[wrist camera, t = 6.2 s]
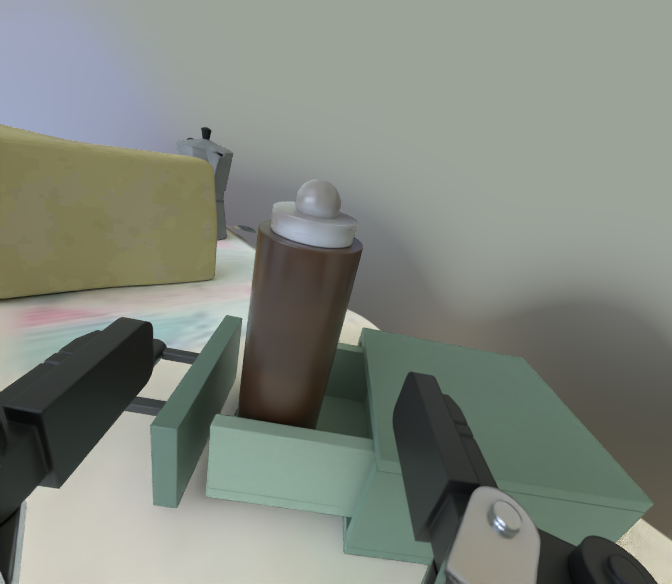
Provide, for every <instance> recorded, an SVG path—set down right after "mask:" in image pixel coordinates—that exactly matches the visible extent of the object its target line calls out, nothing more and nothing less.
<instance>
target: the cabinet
mask: <svg viewBox="0 0 672 584" xmlns="http://www.w3.org/2000/svg"><path fill="white" fill-rule="evenodd" d="M357 346H359V347H362V348H363V357H364V365H365V373H366V381H367V390H368V398H369V406H370V414H371V422H372V431H373V439H374V447H375V455H376V458H375V460H374V462H373V465H372V467H371V470H370V473H369V475H368V478H367V480H366V483H365V486H364V488H363V491H362V493H361V496H360V498H359V501H358V504H357V506H356V509H355V511H354V514H353V516H352V517H345V516H343V533H344V553H345V554H353V555H360V556H368V557H375V558H383V559H390V560H398V561H405V562H413V563H420V564H428V565H429V563H430V561H431V560H432V558H433V556H434V555H433V551H432V547H431V543H425V542H418V541H415V539H414V534H413V529H412V524H411V518H410V513H409V508H408V503H407V498H406V493H405V487H404V482H403V477H402V472H401V467H400V462H399V457H398V451H397V446H396V441H395V436H394V431H393V423H392V419H393V411H394V407H395V404H396V402H397V399H398V396H399V394H400V391H401V389H402V386H403V384H404V381H405V378H406V376H407V374H408V373H409V372H410V371H412V372H417V373H422V374H428V375H433V376H434V377H435V378H436V380H437V382H438V384H439V387H440V389H441V392H442V394H447V395H449V396H450V397H451V398H452V399H453V400H454V401H455V403H456V404H457V405H458V406H459V407H460V408H461V410H462V412H463V414H464V416H465V419H466V421H467V423H468V424H467V425H468V426H469V427H470V429H471V431H472V433H473V435H474V436H473V438H474V439H475V440H476V442H477V444H478V446H479V448H480V450H481V452H482V454H483V457H484V459H485V461H486V463H487V465H488V467H489V469H490V471H491V474H492V476H493V478H494V480H495V482H496V484H497V486H498V488H499V490H501V491H503V492H505V493H507V494H508V495H510V496H511V497H513V498H514V499H515V500H516V501H517V502H519V503H520V504H521V505H522V506H523V508H524V509H525V510H526V511H527V512H528V514H529V515H530V516H531V518H532V520H533V521H534V523H535V525H536V527H537V528H539V529H541V530H543V531H545V532H547V533H549V534H551V535H554V536H556V537H558V538H560V539H562V540H564V541H566V542H568V543H570V544H573V545H575V546H578V545H579V544H580V543H581V542H582V540H583V539H584V538H585V537H587V536H591V535H595V536H600V537H603V538H606V539H608V540H610V541H612V542H614V543H616V542H617V541H618V540H619V539H620V538H621V537H622V536H623V535H624V534H625V533H626V532H627V531H628V530H629V529H630V528H631V527H632V526H633V525H634V524H635V523H636V522H637V521H638V520H639V519H640V518H641V517H642V516H643V515H644V514H645V512H646V511H647V510H648V509H649V508H650V507H652V505H653V502H652V501H651V500H650V499H649V498H648V496H647V495H646V494H645V493H644V492H643V491H642V490H641V489H640V488H639V486H638V485H637V484H636V483H635V482H634V481H633V480H632V479H631V478H630V476H629V475H628V474H627V473H626V472H625V471H624V470H623V469H622V467H621V466H620V465H619V464H618V463H617V462H616V461H615V460H614V459H613V457H612V456H611V455H610V454H609V453H608V452H607V451H606V450H605V449H604V447H603V446H602V445H601V444H600V443H599V442H598V441H597V440H596V438H595V437H594V436H593V435H592V434H591V433H590V432H589V431H588V430H587V429H586V427H585V426H584V425H583V424H582V423H581V422H580V421H579V420H578V419H577V417H576V416H575V415H574V414H573V413H572V412H571V411H570V409H569V408H568V407H567V406H566V405H565V404H564V403H563V402H562V401H561V400H560V398H559V397H558V396H557V395H556V394H555V393H554V392H553V391H552V389H551V388H550V387H549V386H548V385H547V384H546V383H545V382H544V381H543V380H542V379H541V377H540V376H539V375H538V374H537V373H536V372H535V370H534V369H533V368H532V367H531V366H530V365H529V364H528V363H527V362H526V360H525V359H523V358H518V357H513V356H508V355H503V354H498V353H492V352H487V351H482V350H477V349H471V348H466V347H461V346H456V345H451V344H445V343H441V342H436V341H430V340H425V339H420V338H415V337H409V336H404V335H399V334H394V333H389V332H384V331H379V330H374V329H368V328H362V332H361V336H360V338H359V342H358V345H357Z"/></svg>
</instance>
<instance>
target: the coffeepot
mask: <svg viewBox="0 0 672 584" xmlns="http://www.w3.org/2000/svg"><path fill="white" fill-rule="evenodd" d="M201 129H202V137H203V139H193V138H188V139H187V140H182V141H176V147H177V155H186V156H192V157H197V158H200V159H203V160H205V161H207V162H208V163H210V164H211V165H212V167H213V169H214V180H215V194H216V208H217V240H221V239H224V238H226V237H227V234H226V223H225V212H224V200H223V199H224V198H223V197H224V191H225V190H226V185H227V180H228V176H229V171H230V167H231V162H232V157H233V152H231V151H229V150H228V149H226V148H223V147H222V146H220V145H217V144H216V143H214V142H212V141H210V140H209V138H210V134H211V130H210V129H209V128H206V127H204V128H201Z"/></svg>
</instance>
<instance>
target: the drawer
mask: <svg viewBox="0 0 672 584" xmlns="http://www.w3.org/2000/svg"><path fill="white" fill-rule="evenodd" d="M241 326H242V318H239V317H233V316H228V315H226V316H225V318H224V319H223V321H222V322H221V324H220V325H219V327H218V328H217V330H216V331H215V332H214V334H213V335H212V337H211V338H210V340H209V341H208V343H207V344H206V346H205V347H204V348H203V350H202V351H201V353H194V352H189V351H183V350H177V349H172V348H167V346H166V345H165V343H164V342H162V341H161V340H158V339H153V348H154V366H155V365H156V364H157V363H158V362H159V361H160V359H161V358H162V359H165V360H170V361H176V362H182V363H187V364H192V366H191V367H190V369H189V370H188V372H187V373H186V375H185V376H184V377H183V379H182V380H181V382H180V383H179V385H178V386H177V388H176V389H175V391H174V392H173V393H172V395H171V396H170V398H169V399H168V401H161V400H155V399H149V398H143V397H137V396H136V397H135V398H134V400H133V401H132V402H131V403H130V404H129V406H128V407H127V408H126V409H125V410H124V411H128V412H135V413H141V414H147V415H153V416H157V417H156V418H155V420H154V421H153V422H152V424H151V425H150V430H151V456H152V483H153V505H157V506H164V507H172V508H177V506H178V504H179V502H180V500H181V498H182V495H183V493H184V491H185V489H186V487H187V484H188V482H189V480H190V478H191V476H192V473H193V471H194V469H195V467H196V465H197V462H198V460H199V458H200V456H201V454H202V451H203V449H204V447H205V445H206V443H207V440H208V438H209V436H210V441H209V455H208V469H207V484H206V497H212V498H219V499H226V500H233V501H240V502H247V503H254V504H261V505H268V506H275V507H282V508H289V509H296V510H303V511H310V512H317V513H324V514H331V515H338V516H345V517H352V516H353V514H354V511H355V509H356V506H357V504H358V501H359V498H360V496H361V493H362V491H363V488H364V486H365V483H366V480H367V478H368V475H369V473H370V470H371V467H372V465H373V462H374V460H375V458H376V455H375V447H374V439H373V431H372V422H371V414H370V406H369V398H368V390H367V381H366V373H365V365H364V357H363V348H362V347H359V346H354V345H349V344H343V343H338V345H337V349H336V353H335V357H334V361H333V364H332V368H331V372H330V376H329V380H328V384H327V387H326V391H325V395H324V399H323V403H322V407H321V410H320V414H319V418H318V422H317V426H316V430H313V429H307V428H300V427H294V426H288V425H282V424H276V423H270V422H264V421H258V420H252V419H246V418H240V417H237V411H236V413H235V416H234V417H233V416H227V415H221V414H220V412H221V410H222V407H223V405H224V403H225V401H226V399H227V396H228V394H229V392H230V390H231V388H232V386H233V383H234V381H235V379H236V373H237V364H238V354H239V345H240V336H241ZM153 368H154V367H153ZM237 410H238V408H237Z"/></svg>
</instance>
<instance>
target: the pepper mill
mask: <svg viewBox="0 0 672 584" xmlns="http://www.w3.org/2000/svg"><path fill="white" fill-rule="evenodd" d="M340 207H341V200H340V196H339V193H338V191H337V189H336V188H335V187H334V186H333V185H332V184H331V183H329V182H327V181H324V180H319V179H315V180H311V181H309V182H306V183H305V184H304V185H303V186H302V187H301V188H300V189H299V191H298V193H297V195H296V200H295V202H277V203H275V204H274V205H273V211H272V219H271V220H268V221H264V222H262V223H261V224H260V225H259V228H258V237H257V246H256V254H255V263H254V271H253V280H252V289H251V297H250V306H249V315H248V323H247V332H246V341H245V349H244V358H243V367H242V375H241V384H240V393H239V401H238V410H237V417H240V418H246V419H252V420H258V421H264V422H270V423H276V424H282V425H288V426H294V427H300V428H307V429H313V430H316V426H317V422H318V418H319V414H320V410H321V407H322V403H323V399H324V395H325V391H326V387H327V384H328V380H329V376H330V372H331V368H332V364H333V361H334V357H335V353H336V349H337V345H338V341H339V338H340V334H341V330H342V326H343V322H344V318H345V315H346V311H347V307H348V303H349V299H350V295H351V291H352V288H353V284H354V280H355V276H356V272H357V269H358V265H359V261H360V257H361V253H362V249H363V245H362V243H361V242H360V241H359V240H357V239H356V238H355V237H354V236H355V232H356V228H357V221H356V220H355V219H354V218H353V217H351V216H349V215H347V214H344V213H341V212H339V211H340Z"/></svg>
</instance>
